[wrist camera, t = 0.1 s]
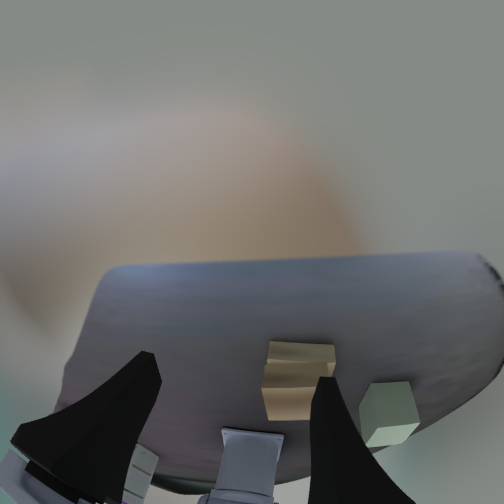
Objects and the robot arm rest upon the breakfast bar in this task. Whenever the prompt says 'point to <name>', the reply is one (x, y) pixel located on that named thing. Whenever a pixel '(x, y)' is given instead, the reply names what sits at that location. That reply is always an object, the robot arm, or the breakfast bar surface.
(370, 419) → the block
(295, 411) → the slab top
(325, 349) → the slab bottom
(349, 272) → the breakfast bar surface
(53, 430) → the robot arm
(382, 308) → the breakfast bar surface
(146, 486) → the syrup box
